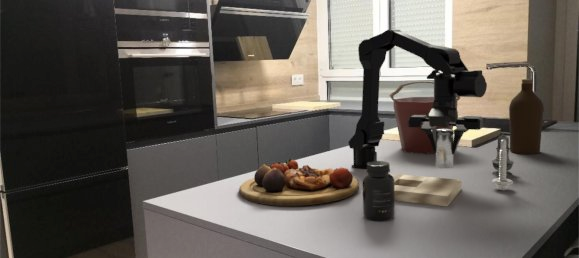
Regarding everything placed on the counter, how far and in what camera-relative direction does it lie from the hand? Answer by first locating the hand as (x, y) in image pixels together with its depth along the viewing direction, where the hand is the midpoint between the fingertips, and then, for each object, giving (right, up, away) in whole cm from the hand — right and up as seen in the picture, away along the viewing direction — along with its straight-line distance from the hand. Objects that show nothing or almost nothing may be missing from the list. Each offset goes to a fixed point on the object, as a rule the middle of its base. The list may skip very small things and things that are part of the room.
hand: (444, 153), depth 133 cm
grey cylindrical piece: (0, -4, +1) cm, 4 cm away
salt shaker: (+19, -6, +8) cm, 21 cm away
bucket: (+8, -1, +48) cm, 49 cm away
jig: (-10, -10, -9) cm, 16 cm away
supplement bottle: (-22, -13, -26) cm, 36 cm away
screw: (+12, -9, -8) cm, 17 cm away
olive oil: (+40, -1, +37) cm, 54 cm away
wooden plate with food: (-39, -10, -1) cm, 41 cm away
